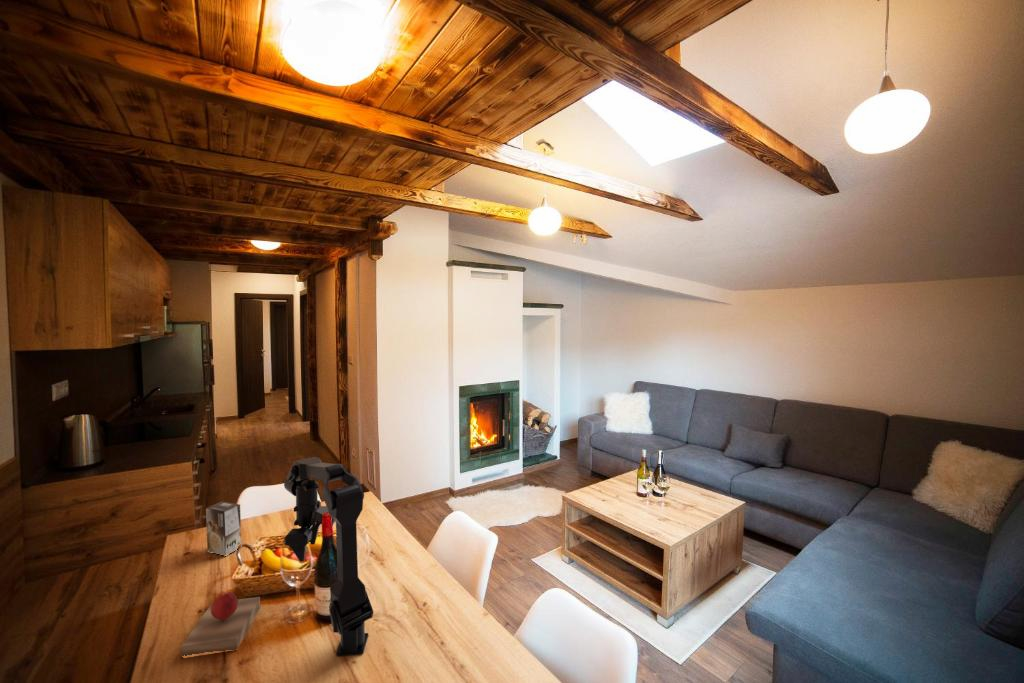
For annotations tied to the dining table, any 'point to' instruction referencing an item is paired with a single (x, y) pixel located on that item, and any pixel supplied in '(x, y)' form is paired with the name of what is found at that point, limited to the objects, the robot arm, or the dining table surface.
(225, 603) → the onion
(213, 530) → the coffee box
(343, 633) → the robot arm
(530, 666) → the dining table surface
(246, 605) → the grey flat block
